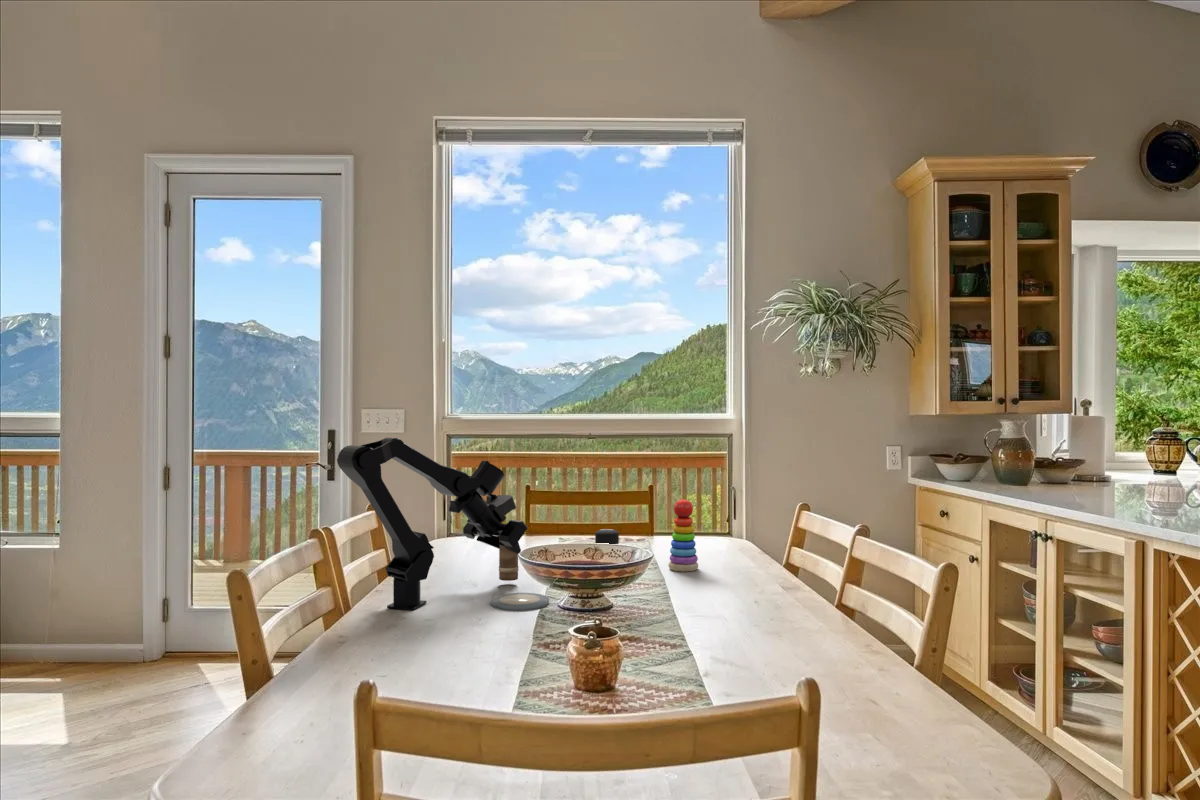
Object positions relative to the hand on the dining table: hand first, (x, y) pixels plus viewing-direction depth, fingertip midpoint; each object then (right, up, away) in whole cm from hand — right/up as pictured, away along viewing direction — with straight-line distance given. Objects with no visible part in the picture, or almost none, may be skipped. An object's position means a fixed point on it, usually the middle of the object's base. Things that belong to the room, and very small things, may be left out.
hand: (513, 550), depth 200 cm
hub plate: (+4, -8, -19) cm, 21 cm away
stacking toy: (+44, -8, +17) cm, 48 cm away
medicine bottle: (+23, -8, +8) cm, 26 cm away
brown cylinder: (-1, -7, -1) cm, 7 cm away
